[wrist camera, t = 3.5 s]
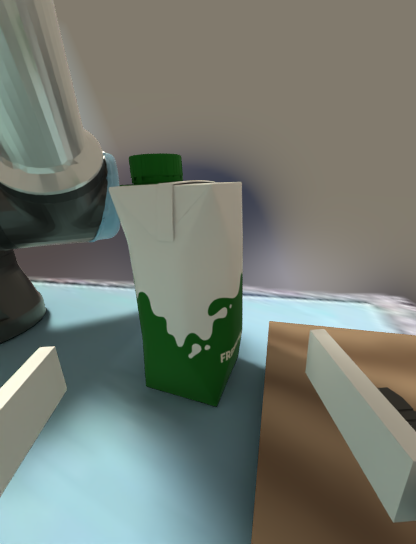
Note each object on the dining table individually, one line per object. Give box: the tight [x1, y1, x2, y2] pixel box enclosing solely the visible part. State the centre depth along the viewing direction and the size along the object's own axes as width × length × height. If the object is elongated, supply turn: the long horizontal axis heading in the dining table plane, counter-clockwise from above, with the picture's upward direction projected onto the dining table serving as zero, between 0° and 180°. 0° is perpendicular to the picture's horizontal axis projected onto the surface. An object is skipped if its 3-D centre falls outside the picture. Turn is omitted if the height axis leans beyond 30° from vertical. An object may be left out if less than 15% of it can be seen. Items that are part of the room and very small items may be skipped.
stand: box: [251, 321, 416, 544], centre depth 18 cm, size 20×14×3 cm
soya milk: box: [109, 154, 243, 407], centre depth 22 cm, size 9×9×20 cm
